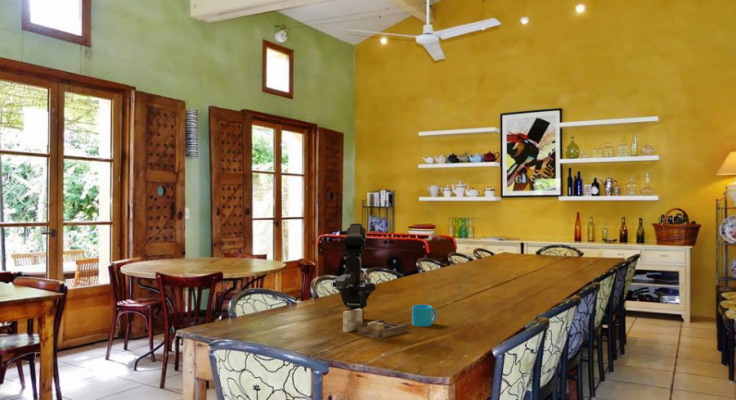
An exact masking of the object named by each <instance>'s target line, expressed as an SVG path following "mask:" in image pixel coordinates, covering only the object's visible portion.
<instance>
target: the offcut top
mask: <svg viewBox="0 0 736 400" xmlns="http://www.w3.org/2000/svg"><path fill="white" fill-rule="evenodd" d="M374 321H375V320H373V322H372V321H368V322H369V323H368V322H367V323H368V328H369V329H375V330H380V329H383V328H384V323H380V322H374Z"/></svg>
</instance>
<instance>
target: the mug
mask: <svg viewBox="0 0 736 400" xmlns="http://www.w3.org/2000/svg"><path fill="white" fill-rule="evenodd" d="M436 318H437V311H436V309H435V308H434V307H433V306H432V305H429V304H415V305H412V306H411V325H413V326H414V327H415V326H416V327H430V326H432V324H433V323H434V321H435V320H436Z"/></svg>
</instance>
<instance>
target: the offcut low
mask: <svg viewBox="0 0 736 400" xmlns="http://www.w3.org/2000/svg"><path fill="white" fill-rule="evenodd" d="M365 329H369V328H368V327H365ZM369 330H374V331H378V332H380V335H381V330H384V328H383V329H380V330H375V329H369Z"/></svg>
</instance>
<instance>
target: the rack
mask: <svg viewBox="0 0 736 400" xmlns="http://www.w3.org/2000/svg"><path fill="white" fill-rule="evenodd" d="M373 321H374V322H380V323H384V330H381V335H380V332H378V331H374V330H369V329H365V327H368V323H369V322H370V321H368V322H365V323H363V322H362V324H359V325H358V329H357V330H356V331H355V332H354V334H359V335H363V336H367V337H371V338H376V339H384V338H388V337H392V336H395V335H399V334H402V333H406V332H410V330H409V329H408V324H406V323H404V324H396V323H391V322H388V321H384V319H376V320H373ZM373 321H371V322H373Z"/></svg>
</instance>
